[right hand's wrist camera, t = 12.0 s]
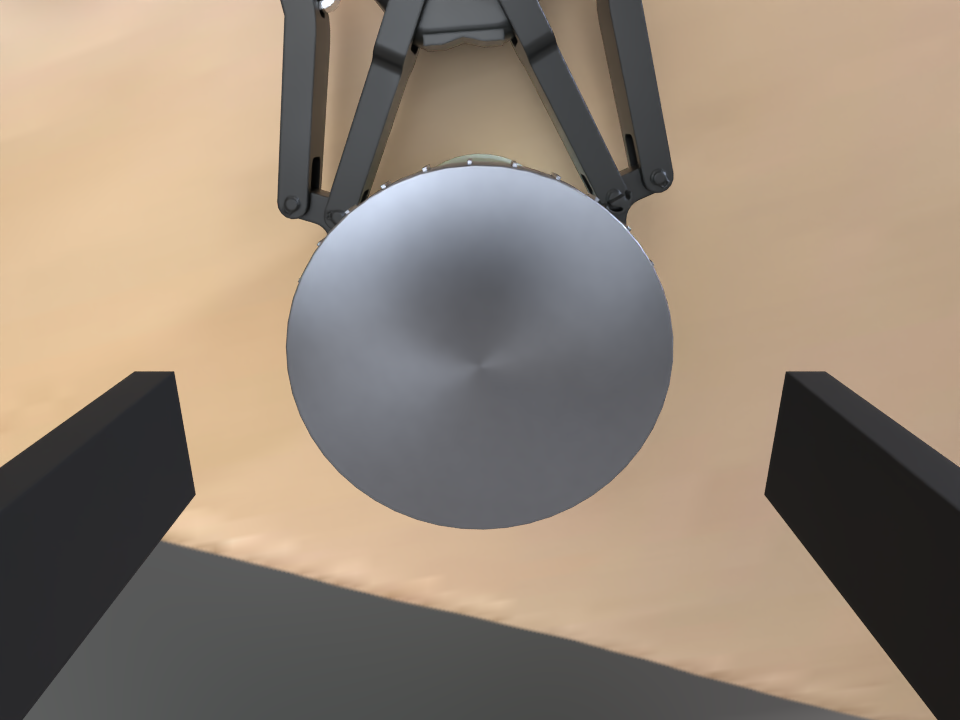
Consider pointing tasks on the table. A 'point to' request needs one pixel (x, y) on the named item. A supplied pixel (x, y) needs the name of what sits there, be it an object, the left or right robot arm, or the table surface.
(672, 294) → the table surface
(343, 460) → the lid
